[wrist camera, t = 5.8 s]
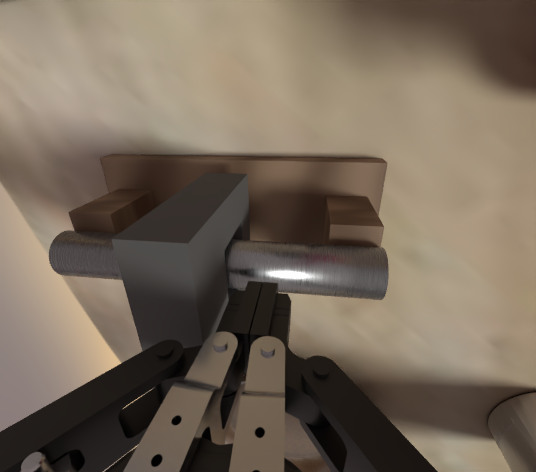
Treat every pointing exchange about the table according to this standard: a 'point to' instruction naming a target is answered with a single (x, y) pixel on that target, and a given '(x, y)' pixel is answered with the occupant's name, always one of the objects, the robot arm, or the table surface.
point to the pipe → (248, 264)
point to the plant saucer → (289, 442)
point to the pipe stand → (252, 195)
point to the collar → (183, 259)
